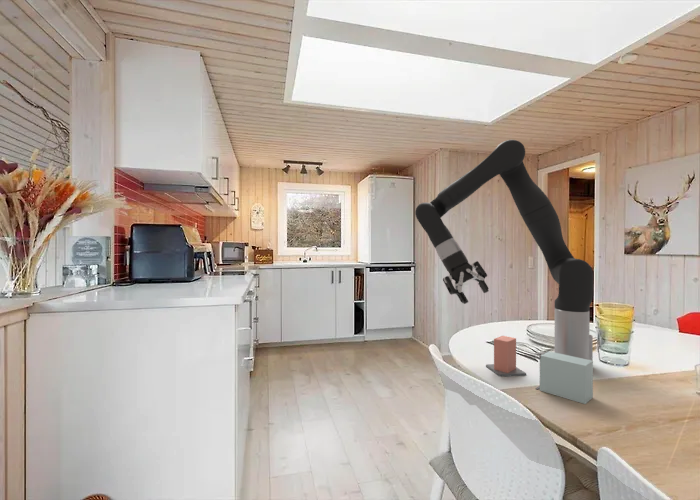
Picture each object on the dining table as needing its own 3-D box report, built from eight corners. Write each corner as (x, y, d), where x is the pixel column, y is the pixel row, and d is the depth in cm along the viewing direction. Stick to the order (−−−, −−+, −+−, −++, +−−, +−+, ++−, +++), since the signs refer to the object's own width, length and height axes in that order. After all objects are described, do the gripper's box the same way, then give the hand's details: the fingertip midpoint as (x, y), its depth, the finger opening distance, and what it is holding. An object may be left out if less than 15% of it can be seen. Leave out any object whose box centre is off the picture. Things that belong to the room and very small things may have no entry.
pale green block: (535, 389, 87) (535, 354, 87) (544, 383, 91) (544, 350, 91) (585, 404, 79) (585, 365, 79) (592, 397, 83) (592, 360, 82)
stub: (493, 369, 100) (494, 338, 100) (502, 364, 104) (502, 335, 104) (507, 372, 97) (507, 341, 97) (516, 368, 101) (516, 338, 101)
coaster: (510, 365, 105) (510, 363, 105) (526, 375, 97) (526, 373, 97) (485, 366, 104) (485, 364, 104) (499, 376, 96) (499, 374, 96)
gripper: (438, 259, 109) (464, 304, 105) (472, 242, 113) (499, 286, 109) (429, 266, 116) (454, 308, 112) (462, 250, 120) (487, 290, 116)
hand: (476, 297), depth 111 cm, fingers open, 8 cm apart
